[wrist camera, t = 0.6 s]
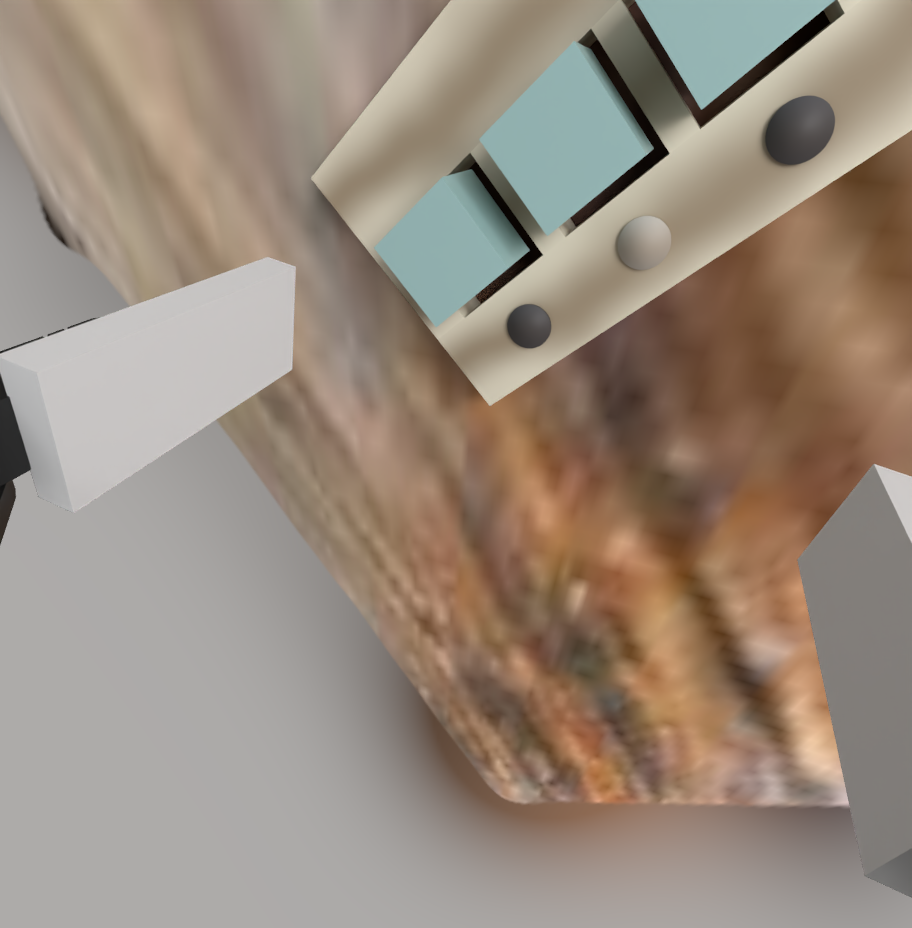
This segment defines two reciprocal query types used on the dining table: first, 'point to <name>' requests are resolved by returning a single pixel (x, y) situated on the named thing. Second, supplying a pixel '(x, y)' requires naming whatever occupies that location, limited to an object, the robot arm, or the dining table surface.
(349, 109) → the dining table surface
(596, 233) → the board
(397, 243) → the button
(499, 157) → the button
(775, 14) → the button
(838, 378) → the dining table surface
